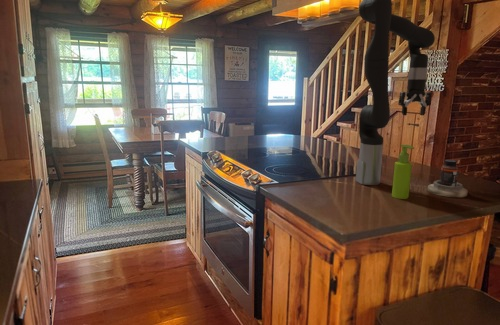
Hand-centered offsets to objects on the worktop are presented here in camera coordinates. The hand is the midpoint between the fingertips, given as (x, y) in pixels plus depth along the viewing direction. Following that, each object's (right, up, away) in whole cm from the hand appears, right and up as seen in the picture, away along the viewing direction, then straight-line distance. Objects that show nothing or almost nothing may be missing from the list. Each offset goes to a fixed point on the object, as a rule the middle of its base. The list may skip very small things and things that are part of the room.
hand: (413, 115), depth 168 cm
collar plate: (+5, -33, -20) cm, 39 cm away
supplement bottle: (+5, -32, -20) cm, 38 cm away
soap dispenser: (-17, -35, -27) cm, 47 cm away
